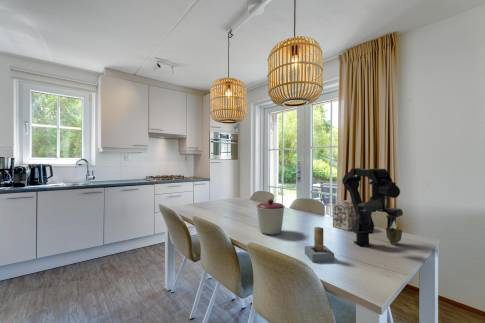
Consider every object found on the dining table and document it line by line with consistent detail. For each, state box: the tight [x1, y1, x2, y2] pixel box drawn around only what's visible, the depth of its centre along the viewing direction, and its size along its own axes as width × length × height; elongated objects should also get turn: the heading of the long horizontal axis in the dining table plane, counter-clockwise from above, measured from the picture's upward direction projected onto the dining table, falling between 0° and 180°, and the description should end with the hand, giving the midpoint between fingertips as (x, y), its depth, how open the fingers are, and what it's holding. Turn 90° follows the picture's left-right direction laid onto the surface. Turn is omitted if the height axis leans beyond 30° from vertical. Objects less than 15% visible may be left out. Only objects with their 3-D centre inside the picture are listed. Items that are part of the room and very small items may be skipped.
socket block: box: [304, 244, 335, 263], centre depth 107 cm, size 10×10×4 cm
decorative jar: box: [332, 199, 356, 232], centre depth 155 cm, size 12×12×18 cm
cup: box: [385, 227, 403, 246], centre depth 124 cm, size 8×7×8 cm
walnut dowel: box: [313, 226, 324, 252], centre depth 107 cm, size 4×4×13 cm
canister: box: [255, 198, 286, 236], centre depth 145 cm, size 18×18×21 cm
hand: (378, 227), depth 111 cm, fingers open, 9 cm apart
